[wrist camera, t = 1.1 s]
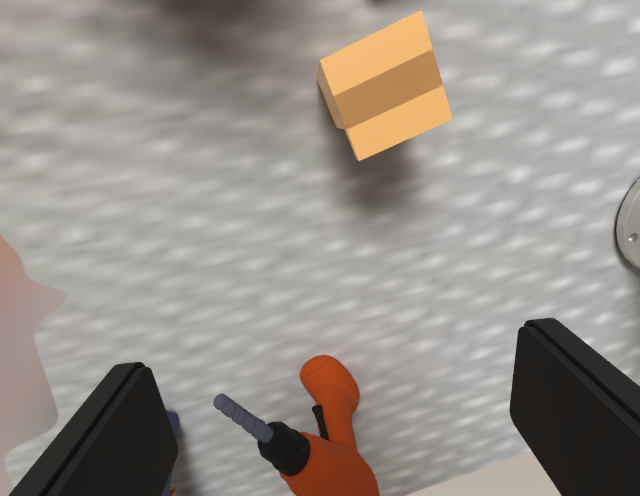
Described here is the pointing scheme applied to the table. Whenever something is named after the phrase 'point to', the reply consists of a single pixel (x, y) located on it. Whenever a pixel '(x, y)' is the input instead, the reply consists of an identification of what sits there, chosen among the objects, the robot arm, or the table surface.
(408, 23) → the orange rectangular block
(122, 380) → the robot arm
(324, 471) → the toy drill
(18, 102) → the table surface
